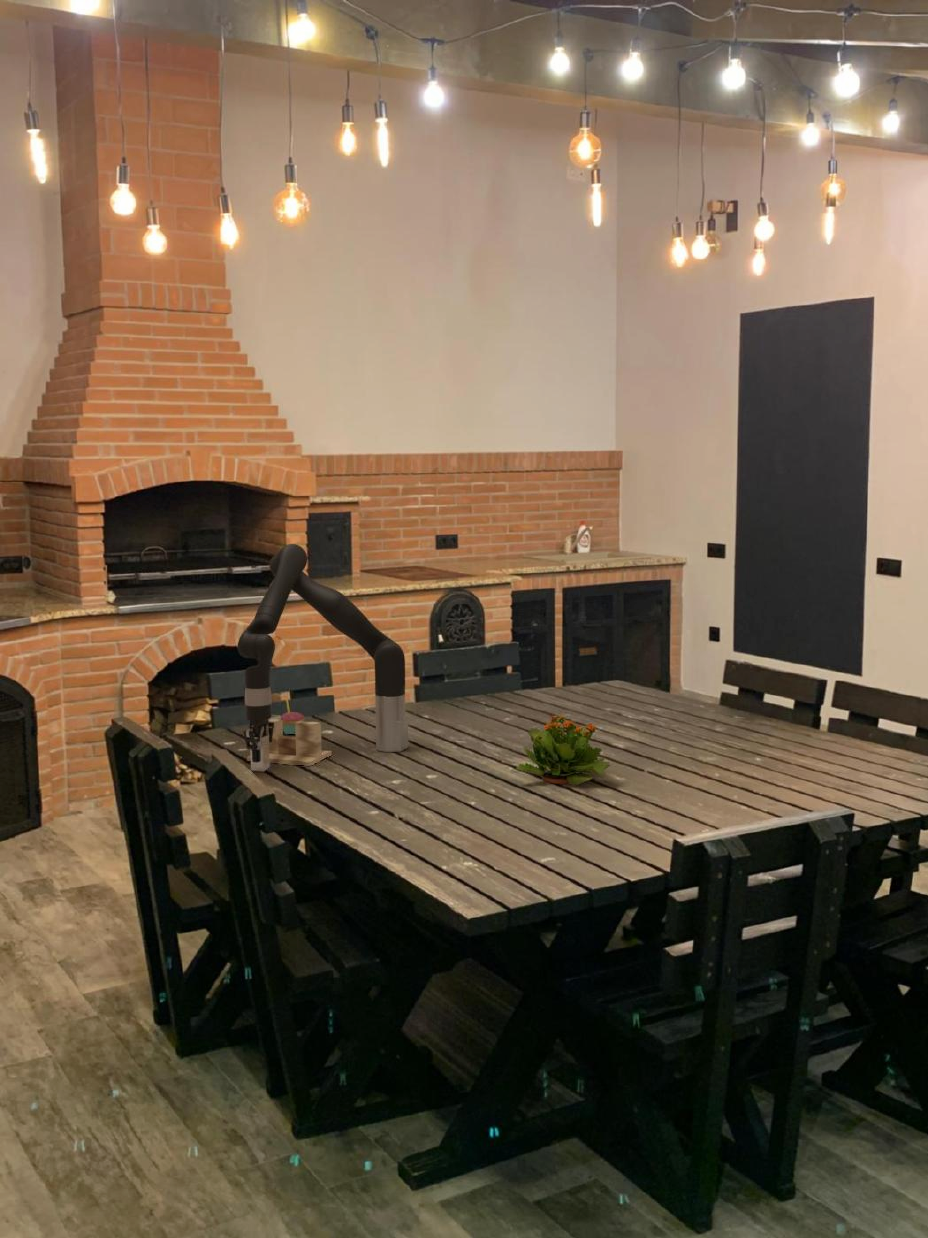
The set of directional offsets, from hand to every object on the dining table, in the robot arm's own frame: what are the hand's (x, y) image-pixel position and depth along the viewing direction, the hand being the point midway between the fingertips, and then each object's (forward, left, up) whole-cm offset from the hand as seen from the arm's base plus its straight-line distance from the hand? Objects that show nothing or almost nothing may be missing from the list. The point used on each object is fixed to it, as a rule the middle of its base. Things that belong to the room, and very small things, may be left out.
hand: (260, 760), depth 359 cm
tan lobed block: (-2, -14, -3) cm, 14 cm away
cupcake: (+14, -45, -3) cm, 47 cm away
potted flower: (-85, -16, -3) cm, 87 cm away
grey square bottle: (0, 0, -3) cm, 3 cm away
